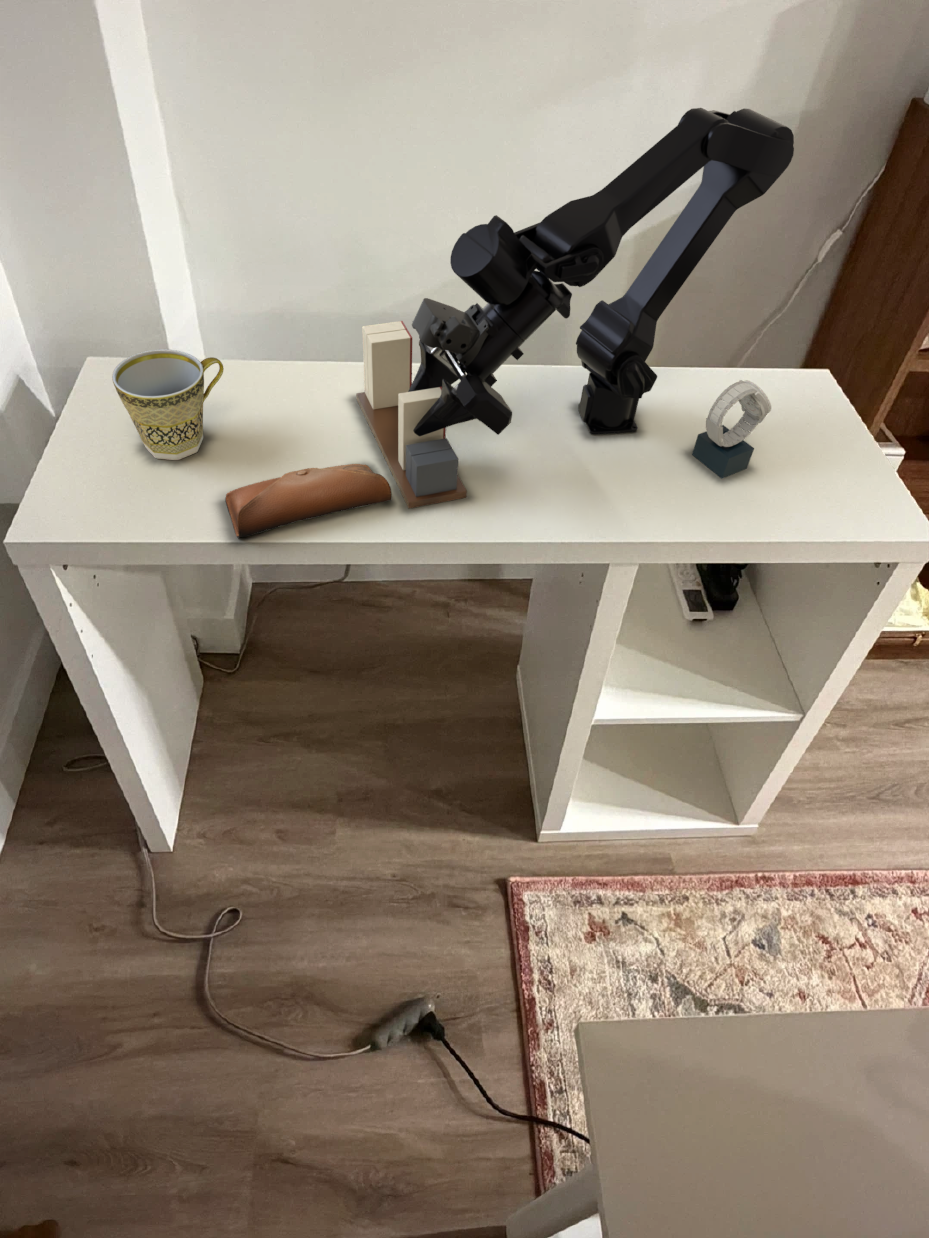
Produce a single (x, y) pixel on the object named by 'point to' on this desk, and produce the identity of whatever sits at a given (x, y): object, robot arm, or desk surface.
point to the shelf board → (387, 438)
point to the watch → (728, 446)
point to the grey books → (431, 467)
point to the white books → (386, 363)
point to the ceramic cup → (165, 399)
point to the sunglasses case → (304, 497)
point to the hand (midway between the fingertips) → (409, 422)
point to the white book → (415, 419)
